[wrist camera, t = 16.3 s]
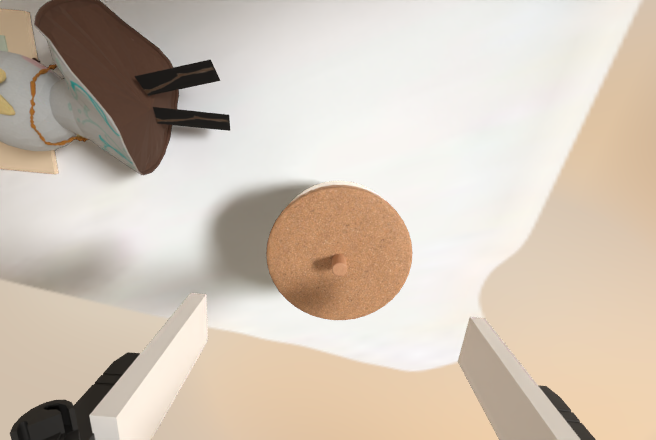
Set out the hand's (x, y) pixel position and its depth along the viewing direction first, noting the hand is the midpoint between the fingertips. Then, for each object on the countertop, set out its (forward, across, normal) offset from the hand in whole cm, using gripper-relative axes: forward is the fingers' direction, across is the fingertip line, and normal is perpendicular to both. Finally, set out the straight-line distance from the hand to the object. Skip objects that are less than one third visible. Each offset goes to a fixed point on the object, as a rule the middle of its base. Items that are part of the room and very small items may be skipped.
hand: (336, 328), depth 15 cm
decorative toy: (+16, +19, -9) cm, 26 cm away
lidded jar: (+16, 0, 0) cm, 16 cm away
